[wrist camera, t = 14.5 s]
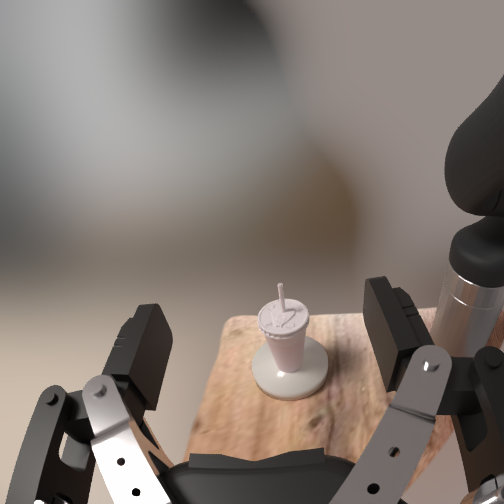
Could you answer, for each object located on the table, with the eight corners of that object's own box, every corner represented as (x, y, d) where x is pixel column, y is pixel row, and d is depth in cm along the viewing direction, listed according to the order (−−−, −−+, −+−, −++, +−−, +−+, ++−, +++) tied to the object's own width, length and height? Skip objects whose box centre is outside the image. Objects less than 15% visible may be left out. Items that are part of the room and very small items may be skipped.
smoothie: (315, 348, 44) (311, 272, 36) (307, 383, 39) (301, 308, 31) (273, 344, 46) (260, 269, 39) (261, 377, 41) (243, 304, 34)
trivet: (287, 333, 50) (286, 324, 49) (342, 362, 43) (343, 354, 42) (239, 374, 44) (236, 366, 43) (294, 414, 37) (293, 407, 36)
